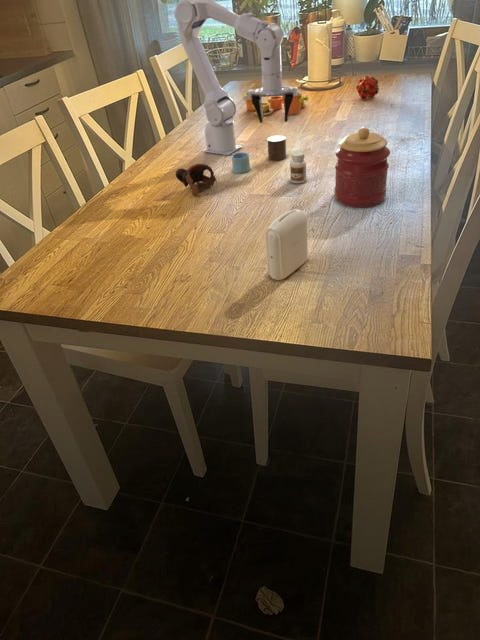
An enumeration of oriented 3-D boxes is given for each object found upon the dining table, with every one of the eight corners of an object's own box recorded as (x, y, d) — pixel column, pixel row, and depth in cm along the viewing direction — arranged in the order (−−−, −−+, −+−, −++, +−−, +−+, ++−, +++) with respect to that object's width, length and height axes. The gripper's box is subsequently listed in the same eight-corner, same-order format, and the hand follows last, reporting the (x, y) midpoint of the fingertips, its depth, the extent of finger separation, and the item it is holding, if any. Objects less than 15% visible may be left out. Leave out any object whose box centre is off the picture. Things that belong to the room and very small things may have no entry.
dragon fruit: (370, 97, 206) (366, 110, 199) (354, 85, 205) (349, 97, 197) (384, 80, 200) (380, 92, 192) (367, 67, 198) (362, 79, 191)
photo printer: (282, 283, 100) (279, 227, 92) (265, 276, 102) (261, 222, 95) (310, 260, 106) (310, 206, 98) (294, 255, 108) (292, 202, 101)
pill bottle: (288, 183, 139) (288, 156, 135) (292, 177, 142) (292, 150, 138) (304, 184, 138) (303, 156, 133) (307, 178, 141) (307, 151, 136)
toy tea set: (308, 103, 201) (308, 78, 195) (307, 115, 189) (306, 87, 183) (245, 107, 206) (243, 82, 200) (239, 118, 194) (237, 91, 188)
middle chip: (264, 153, 155) (264, 146, 153) (273, 147, 158) (273, 141, 157) (280, 155, 152) (280, 148, 151) (289, 149, 155) (288, 142, 154)
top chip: (264, 146, 153) (264, 140, 152) (273, 141, 157) (273, 134, 156) (280, 148, 151) (279, 142, 149) (289, 142, 154) (288, 136, 153)
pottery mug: (219, 183, 145) (220, 164, 138) (210, 208, 142) (210, 190, 134) (180, 173, 146) (178, 153, 138) (170, 198, 142) (168, 180, 134)
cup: (230, 172, 150) (228, 157, 147) (239, 166, 153) (237, 151, 151) (244, 174, 148) (242, 159, 145) (253, 168, 151) (252, 153, 148)
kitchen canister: (355, 213, 121) (359, 140, 110) (324, 195, 131) (325, 127, 120) (396, 199, 125) (404, 127, 115) (363, 183, 135) (368, 116, 124)
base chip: (265, 159, 156) (264, 153, 155) (274, 153, 159) (273, 147, 158) (280, 161, 153) (280, 155, 152) (289, 155, 157) (289, 149, 155)
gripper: (245, 77, 142) (248, 126, 150) (295, 74, 139) (296, 124, 148) (248, 72, 147) (251, 119, 156) (297, 69, 145) (298, 117, 153)
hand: (273, 121), depth 152 cm, fingers open, 7 cm apart
